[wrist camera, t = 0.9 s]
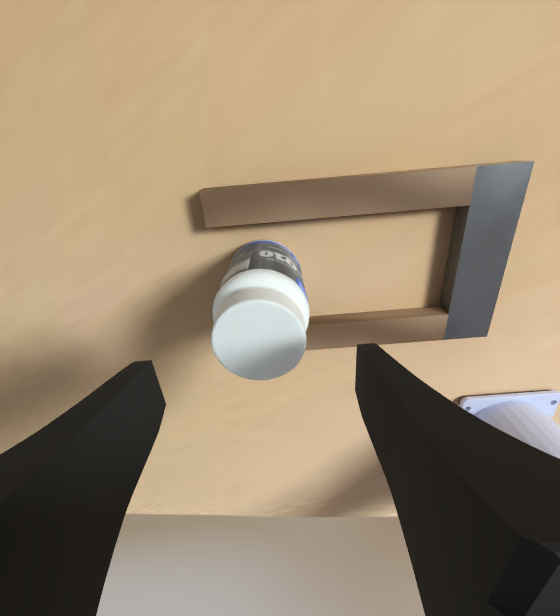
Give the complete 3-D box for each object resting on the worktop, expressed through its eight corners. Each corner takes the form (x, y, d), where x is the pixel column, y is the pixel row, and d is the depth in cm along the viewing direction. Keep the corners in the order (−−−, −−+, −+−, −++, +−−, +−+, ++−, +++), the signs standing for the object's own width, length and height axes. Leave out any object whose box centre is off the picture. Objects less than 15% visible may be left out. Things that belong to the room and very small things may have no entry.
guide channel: (435, 330, 22) (443, 339, 21) (231, 346, 22) (229, 356, 21) (464, 165, 17) (477, 166, 16) (203, 188, 17) (198, 190, 16)
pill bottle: (315, 272, 20) (340, 342, 12) (266, 318, 21) (262, 405, 14) (262, 221, 18) (255, 267, 11) (213, 274, 20) (177, 346, 12)
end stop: (476, 327, 22) (486, 336, 21) (435, 330, 22) (443, 339, 21) (517, 161, 17) (534, 161, 16) (464, 165, 17) (477, 166, 16)
